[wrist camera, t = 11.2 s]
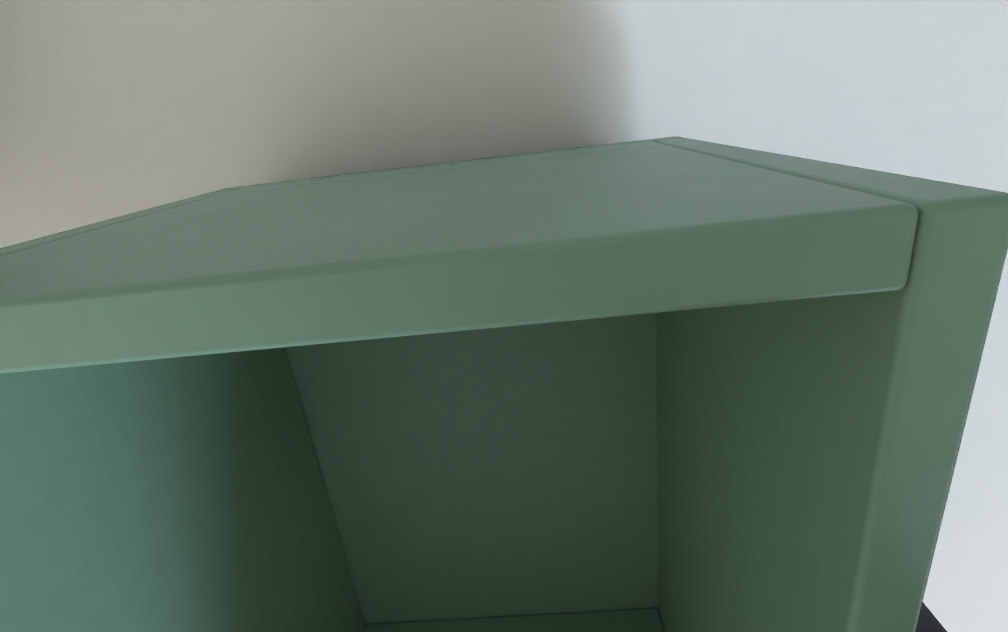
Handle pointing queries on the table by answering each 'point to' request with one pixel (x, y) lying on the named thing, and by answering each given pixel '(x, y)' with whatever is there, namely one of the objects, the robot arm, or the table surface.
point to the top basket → (496, 398)
